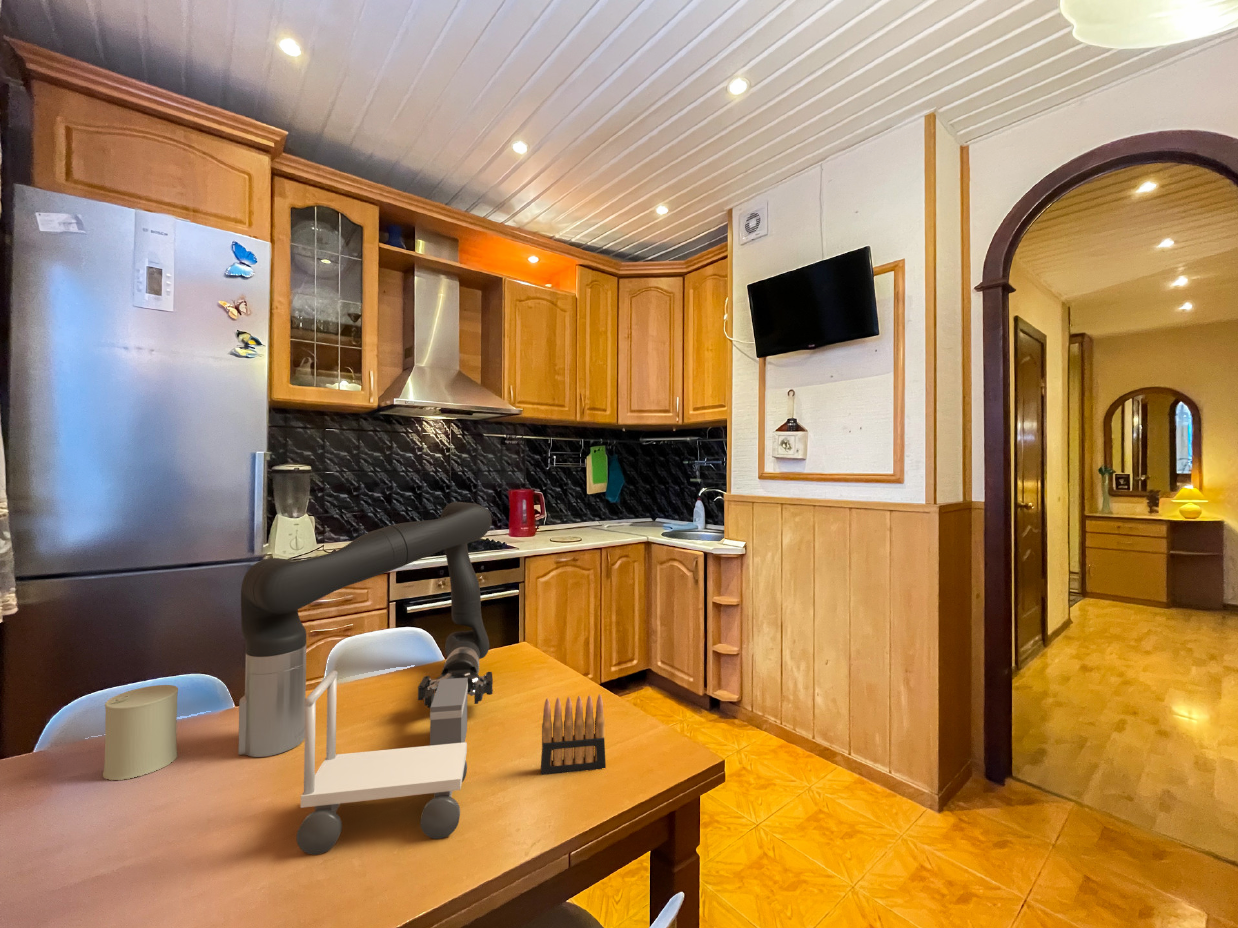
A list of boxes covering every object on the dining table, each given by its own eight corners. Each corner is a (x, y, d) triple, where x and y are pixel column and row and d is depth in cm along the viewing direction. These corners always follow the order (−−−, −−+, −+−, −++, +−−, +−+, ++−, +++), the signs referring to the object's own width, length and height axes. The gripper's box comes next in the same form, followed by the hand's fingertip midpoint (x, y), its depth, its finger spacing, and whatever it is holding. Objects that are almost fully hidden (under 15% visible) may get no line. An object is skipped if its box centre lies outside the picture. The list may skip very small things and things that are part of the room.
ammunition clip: (604, 762, 89) (604, 691, 89) (605, 768, 87) (606, 696, 87) (540, 768, 87) (541, 696, 87) (541, 775, 85) (541, 701, 85)
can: (101, 765, 87) (102, 693, 87) (173, 744, 94) (174, 677, 94) (104, 788, 81) (106, 710, 81) (181, 763, 88) (182, 692, 88)
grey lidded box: (429, 767, 87) (430, 707, 87) (439, 732, 99) (440, 679, 99) (461, 764, 88) (461, 704, 88) (467, 729, 100) (467, 677, 100)
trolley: (296, 856, 67) (298, 702, 67) (329, 797, 79) (331, 667, 79) (459, 836, 71) (460, 690, 71) (467, 782, 83) (468, 658, 83)
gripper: (427, 654, 113) (413, 683, 97) (494, 650, 116) (492, 678, 100) (426, 689, 113) (413, 724, 97) (494, 684, 116) (491, 717, 100)
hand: (453, 700), depth 99 cm, fingers open, 8 cm apart
